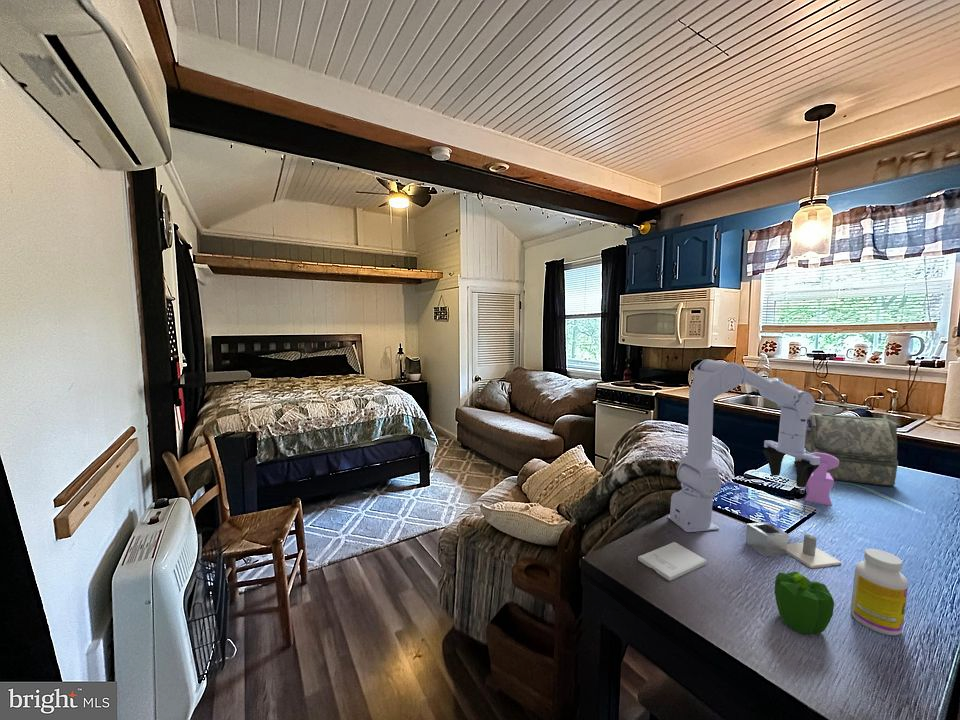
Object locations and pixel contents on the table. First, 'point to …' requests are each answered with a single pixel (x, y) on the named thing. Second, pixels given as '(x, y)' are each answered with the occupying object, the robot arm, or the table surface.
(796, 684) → the table surface
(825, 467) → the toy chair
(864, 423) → the lunch bag
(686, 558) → the external hard drive
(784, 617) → the bell pepper
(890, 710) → the table surface
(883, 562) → the supplement bottle
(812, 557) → the peg base
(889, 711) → the table surface
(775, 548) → the white storage bin
